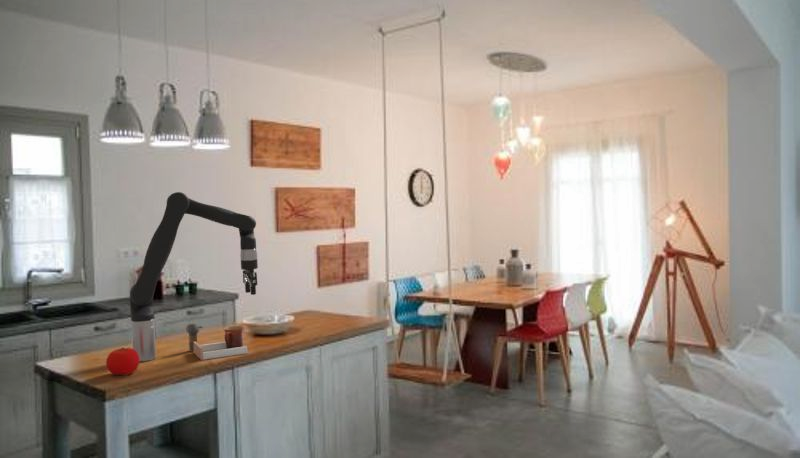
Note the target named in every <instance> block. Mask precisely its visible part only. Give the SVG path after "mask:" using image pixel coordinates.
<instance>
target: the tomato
mask: <svg viewBox="0 0 800 458" xmlns="http://www.w3.org/2000/svg"><path fill="white" fill-rule="evenodd" d="M140 362H141V361H140V359H139V355H138V353H137V351H136V350H134V349H132V348H131V347H127V348H125V347H121V348H118V349H114V350H113V351H111V352H110V353H109V354H108V355H107V358H106V361H105V364H106V368H107V370H108V371H109V372H110V373H111V374H113V375H117V376H126V375H125V374H127V375H130V373H131V374H132V373H135V372H136V370H137V369H138V368H139V365H140Z"/></svg>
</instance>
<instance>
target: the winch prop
mask: <svg viewBox="0 0 800 458" xmlns="http://www.w3.org/2000/svg"><path fill="white" fill-rule="evenodd" d="M202 328H203V326H202V325H200V326H198V325H197V324H196V322H195V323H194V322H191V323H188V324H187V326H186V327H185V331H186V332H187V333H188V345H189V346H188V349H189V352H190V353H194V343H193V342H195V341H196V342H197V343H198V333H199V332H200V329H202Z"/></svg>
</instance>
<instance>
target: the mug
mask: <svg viewBox="0 0 800 458" xmlns="http://www.w3.org/2000/svg"><path fill="white" fill-rule="evenodd" d="M244 328H245V327H244V326H241V325H234V326H233V325H232V326H227V327H223V331H224V342H226V349H230V348H237V347H244V343H243V342H244V341H243V339H244V338H243V332H244Z"/></svg>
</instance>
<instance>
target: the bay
mask: <svg viewBox="0 0 800 458" xmlns="http://www.w3.org/2000/svg"><path fill="white" fill-rule="evenodd" d="M193 343H194V352H193V353H194V355H196V357H198V359H200V361H203V360H209V359H218V358H224V357H231V356H237V355H238V356H239V355H244V354H248V353H249V352H248V346H247V345H246V346H243V347H237V348H230V349H226V342H225V341H221V342H215V343H206V344H199V343H198V341H197V342H196V341H195V342H193Z"/></svg>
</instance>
